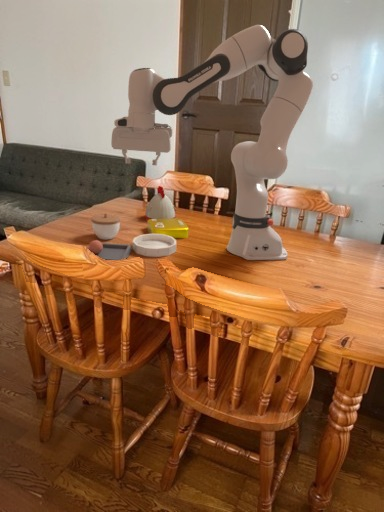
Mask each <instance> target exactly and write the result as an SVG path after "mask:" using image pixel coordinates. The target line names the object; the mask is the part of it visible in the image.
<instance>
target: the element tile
mask: <svg viewBox="0 0 384 512" xmlns="http://www.w3.org/2000/svg"><path fill="white" fill-rule="evenodd" d="M146 229H147V231H148V234H162V235H167V236H171V237H173V238H174V239H175V240H177V239H187V238H189V232H190V231H189V230H190V227H189V226H188V225H187V224H186V223H185V222H184V220H183V219H181V218H178V217H175V218H172V219H149V220H147V227H146Z"/></svg>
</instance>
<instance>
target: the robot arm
mask: <svg viewBox="0 0 384 512" xmlns="http://www.w3.org/2000/svg"><path fill="white" fill-rule="evenodd" d="M308 48H309V43H308V38H307V36H306V35H305V33H304V32H303V31H301V29H300V30H299V29H296V28H289V29H287V30H284V31H282V32H281V33H280V34H279V35H277V37H276V38H273V37H272V36H271V35H270V33H269V31H268V30H267V28H266V27H265V26H263V25H261V24H255V25H252V26H250V27H247V28H244V29H243V30H241V31H238V32H236V33H235V34H233V35H232V36H230V37H228V38H226V39H225V40H224V41H223V42H222V43H220V44H219V45H218V46H216V48H215V49H213V51H212V52H211V53H210V55H209V56H208V57H207V59H206V60H205V61H203V62H202V63H201V64H200V65H198V66H196V67H194V68H193V69H191V70H190V71H188V72H187V73H185V74H183V75H180V76H179V77H169V78H165V77H163V76H162V75H160V74H159V73H157V72H156V71H155V70H154V69H153V68H151V67H140V68H137V69H133V70H132V72H131V73H130V75H129V78H128V87H127V90H128V91H127V92H128V93H127V98H128V101H129V107H128V115H127V116H123V117H121V118H116V119H115V120H114V128H113V130H112V133H111V147H112V148H113V150H119V151H120V150H121V154H122V156H123V157H124V159H125V164H129V165H130V164H131V157H129V156H128V154H127V153H128V151H136V152H150V153H152V152H153V153H155V156H156V157H155V159H152V166H158V160H159V158H160V157H161V156H162V155H161V153H164V154H165V153H166V154H167V153H170V152H171V150H172V143H171V142H172V141H171V140H172V139H171V137H172V136H173V128H172V126H171V125H169V124H168V123H158V122H157V123H156V111H157V110H158V112H159V113H161V114H163V115H166V116H173V115H176V114H178V113H179V112H181V111H182V110H183V109H184V107H185V106H186V104H187V103H188V101H189V100H190V99H191V98H192V97H193V96H194V95H196V94H197V93H199V92H201V91H202V90H204V89H206V88H207V87H210V85H212V84H214V83H217V82H222V81H229V80H231V79H233V78H236V77H237V76H240V75H242V74H244V73H245V72H247V71H248V70H250V69H251V68H253V67H255V66H257V65H258V68H259V69H260V71H262V73H264V75H265V77H267V79H268V80H270V81H272V82H278V84H277V88H276V90H275V92H274V94H273V96H272V97H271V100H270V101H269V102H268V105H267V107H266V108H265V111H264V112H263V114H262V116H261V118H260V123H259V124H260V126H261V127H260V134H259V136H258V140H257V141H254V140H253V141H252V140H249V141H248V140H247V141H242V142H239V143H237V144H236V145H235V146H234V147H233V148H232V151H231V153H230V160H231V164H232V165H233V168H234V172H235V174H234V175H235V180H236V181H235V182H236V203H235V208H234V209H235V211H234V212H233V216H232V223H231V226H232V227H231V228H232V230H231V234H230V238H229V241H228V243H227V246H226V250H227V251H228V252H229V253H231V254H233V255H235V256H238V257H241V258H243V260H244V259H245V260H247V261H258V260H259V261H260V260H261V261H263V260H267V261H268V260H271V261H273V260H275V261H277V260H286V259H287V258H288V251H287V250H286V249H285V247H283V240H282V237H281V236H280V234H278V232H276V230H275V229H273V228H272V227H271V226H273V225H274V220H273V219H272V218H271V217H269V216H268V215H267V208H268V201H269V192H268V190H267V187H266V184H265V180H275V179H278V178H280V177H282V176H283V174H284V173H285V172H286V170H287V169H288V168H287V167H288V163H289V162H288V161H289V160H288V156H287V148H288V147H287V146H288V143H289V138H290V137H291V134H292V131H293V130H294V128H295V126H296V124H297V123H298V121H299V119H300V117H301V115H302V113H303V111H304V109H305V107H306V105H307V104H308V101H309V97H310V96H311V94H312V89H313V86H314V85H313V84H314V83H313V80H312V78H311V76H310V75H309V74H308V73H306V72H305V71H304V70H305V68H306V67H307V65H308V52H309V51H308V50H309V49H308Z"/></svg>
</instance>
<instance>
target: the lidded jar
mask: <svg viewBox="0 0 384 512" xmlns="http://www.w3.org/2000/svg"><path fill="white" fill-rule="evenodd" d="M90 219H91V226H92V230H93V233H94V234H95V235H96V236H97V238H98V239H100V240H107V241H108V240H112V239H114V238H115V237H116V235H118V233H119V231H120V226H121V225H120V223H121V217H120V216H119V215H115V214H112V213H111V214H110V213H109V214H108V213H102V214H101V213H100V214H95V215H93V216H92V217H91V218H90Z"/></svg>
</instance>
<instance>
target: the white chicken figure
mask: <svg viewBox="0 0 384 512" xmlns="http://www.w3.org/2000/svg"><path fill="white" fill-rule="evenodd" d="M156 190H157V193H156V194H155V195H154V196H153V197H152V198H150V199H151V200H149V202H148V203H146V206H145V207H146V208H145V220H146V221H148V220H149V219H172V218H176V212H175V211H176V209H175V205H174V204H173V203H172V201H171V199H170V198H169V197H168V196H167V195H166V193H165V190H164V186H161V185H158V186H157V189H156Z"/></svg>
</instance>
